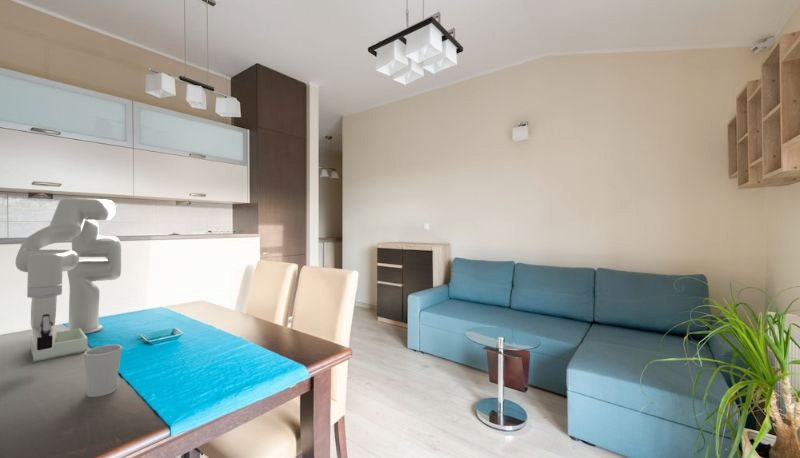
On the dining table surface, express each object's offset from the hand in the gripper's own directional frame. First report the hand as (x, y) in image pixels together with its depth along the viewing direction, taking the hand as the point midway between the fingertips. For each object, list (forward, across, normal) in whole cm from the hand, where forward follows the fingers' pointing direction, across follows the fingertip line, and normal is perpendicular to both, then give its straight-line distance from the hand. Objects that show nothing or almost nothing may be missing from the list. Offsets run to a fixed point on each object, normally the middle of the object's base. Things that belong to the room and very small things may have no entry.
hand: (43, 345), depth 104 cm
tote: (+9, -20, +5) cm, 22 cm away
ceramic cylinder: (+1, 0, 0) cm, 1 cm away
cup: (+7, +31, +10) cm, 33 cm away
